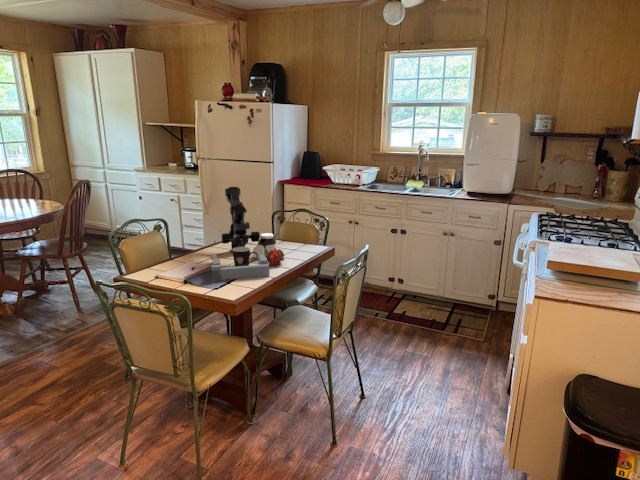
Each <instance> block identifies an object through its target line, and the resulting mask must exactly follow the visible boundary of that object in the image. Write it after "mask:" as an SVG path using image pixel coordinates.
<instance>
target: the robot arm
mask: <svg viewBox="0 0 640 480" xmlns="http://www.w3.org/2000/svg"><path fill="white" fill-rule="evenodd" d="M241 194H242V193H241V188H240V187H238V186H230V187H228V188H225V189H224V196H225V198H226V202H228V203H229V214H230V216H231V225H230V228H229V231H228V232H227V233H225V232H224V233H222V234H221V244H229V243H231V245H230V246H231V250H229V252H230V253H233V252H232V249H233V248H236V247H246V245H247V244H249V240H250V241H252V243H254V242H258V241H259V240H260V238H261V233H260V232H259V231H251V233H250V234H247V230H250V228H251V227H250V226H251V225H250V221H246V222H245V217H246V213H247V208H246V207H245V206H244V204H243V202H241V201H240V197H241Z"/></svg>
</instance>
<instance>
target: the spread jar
mask: <svg viewBox="0 0 640 480" xmlns="http://www.w3.org/2000/svg"><path fill="white" fill-rule="evenodd" d="M252 249H253V250H252V252H256V253H257V254H258V255H265V257H266V258H267V254H268V253H269V252H270V251H271V250H274V249H276V250H278V242H277V240H276V239H275V237H274V234H273V233H268V232H266V233H260V237H259V241H257V245H255V246H254V247H253V248H252ZM252 255H253V257H254V259H255V258H256V257H257V255H256V254H255V253H252ZM257 259H258V257H257Z"/></svg>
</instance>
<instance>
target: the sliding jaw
mask: <svg viewBox="0 0 640 480" xmlns="http://www.w3.org/2000/svg"><path fill="white" fill-rule="evenodd" d="M210 257H211V260H212V265H221V266H222V262H221V258H219V257H218V256H217V253H216V254H212V255H211V256H210Z"/></svg>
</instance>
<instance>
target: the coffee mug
mask: <svg viewBox="0 0 640 480" xmlns="http://www.w3.org/2000/svg"><path fill="white" fill-rule="evenodd" d="M231 250H232V252H231V253H232V256H233V257H232V258H233V263H234V267H237V266H249V265H250V264H251V263H253V262H255V261H256V259H257V260H258V258H257V257H258V254H257V253H256V252H253V251H251V248H250V247H248V246H245V247H236V248H233V249H232V248H231ZM253 253H255V254H256V255H257V257H256V258H255V257H254V259H253V260H251V261H250V257H251V255H253Z"/></svg>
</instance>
